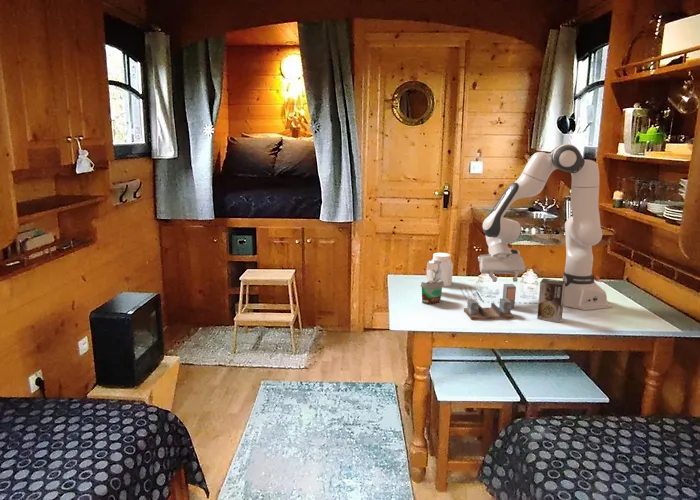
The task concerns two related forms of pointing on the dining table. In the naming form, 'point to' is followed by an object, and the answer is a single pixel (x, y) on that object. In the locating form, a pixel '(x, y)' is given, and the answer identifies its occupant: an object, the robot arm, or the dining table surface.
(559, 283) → the coffee box
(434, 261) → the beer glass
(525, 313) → the dining table surface
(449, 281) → the jar
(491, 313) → the rail board
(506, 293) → the grey orange block
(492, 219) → the robot arm
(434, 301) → the food container
